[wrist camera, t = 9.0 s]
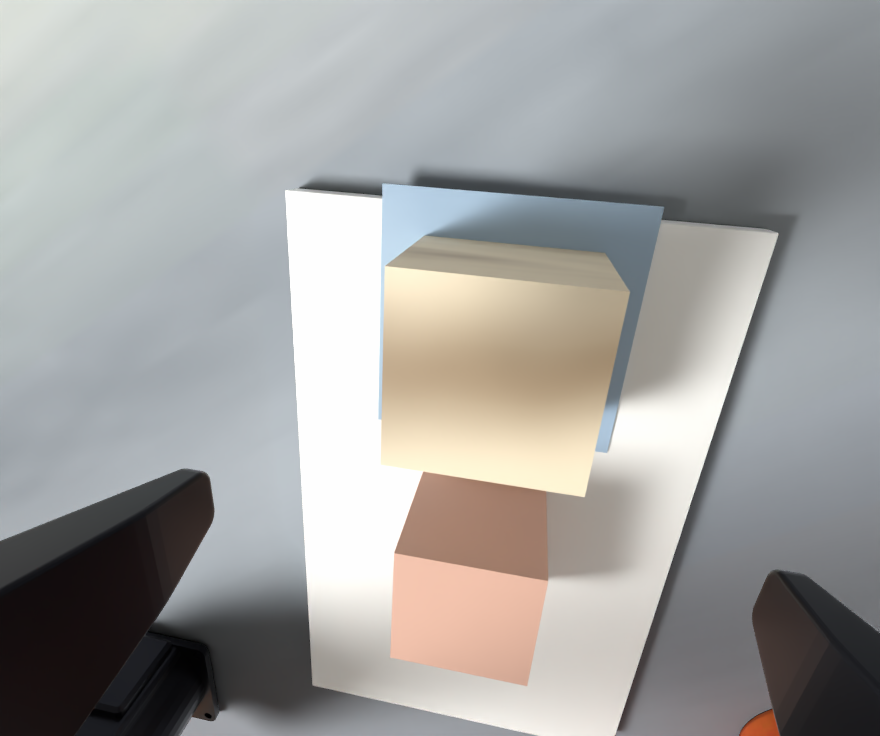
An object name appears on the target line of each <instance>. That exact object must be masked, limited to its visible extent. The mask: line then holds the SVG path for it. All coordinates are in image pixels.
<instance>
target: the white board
mask: <svg viewBox="0 0 880 736" xmlns="http://www.w3.org/2000/svg"><path fill="white" fill-rule="evenodd" d="M285 192H286V210H287V228H288V247H289V265H290V283H291V301H292V320H293V338H294V356H295V374H296V393H297V411H298V429H299V447H300V466H301V484H302V502H303V520H304V539H305V557H306V575H307V593H308V612H309V630H310V648H311V666H312V685H313V686H317V687H322V688H326V689H331V690H335V691H340V692H344V693H349V694H353V695H358V696H362V697H367V698H371V699H376V700H380V701H385V702H389V703H394V704H398V705H403V706H407V707H412V708H416V709H421V710H425V711H430V712H434V713H439V714H443V715H448V716H452V717H457V718H461V719H466V720H470V721H475V722H479V723H484V724H488V725H493V726H497V727H502V728H506V729H511V730H515V731H520V732H524V733H529V734H533V735H538V736H615V734H616V731H617V728H618V725H619V722H620V719H621V716H622V712H623V709H624V706H625V703H626V700H627V697H628V694H629V691H630V688H631V685H632V682H633V679H634V676H635V673H636V670H637V667H638V663H639V660H640V657H641V654H642V651H643V648H644V645H645V642H646V639H647V636H648V633H649V630H650V627H651V624H652V621H653V618H654V614H655V611H656V608H657V605H658V602H659V599H660V596H661V593H662V590H663V587H664V584H665V581H666V578H667V575H668V572H669V569H670V565H671V562H672V559H673V556H674V553H675V550H676V547H677V544H678V541H679V538H680V535H681V532H682V529H683V526H684V523H685V520H686V516H687V513H688V510H689V507H690V504H691V501H692V498H693V495H694V492H695V489H696V486H697V483H698V480H699V477H700V474H701V471H702V467H703V464H704V461H705V458H706V455H707V452H708V449H709V446H710V443H711V440H712V437H713V434H714V431H715V428H716V425H717V422H718V418H719V415H720V412H721V409H722V406H723V403H724V400H725V397H726V394H727V391H728V388H729V385H730V382H731V379H732V376H733V373H734V369H735V366H736V363H737V360H738V357H739V354H740V351H741V348H742V345H743V342H744V339H745V336H746V333H747V330H748V327H749V324H750V320H751V317H752V314H753V311H754V308H755V305H756V302H757V299H758V296H759V293H760V290H761V287H762V284H763V281H764V278H765V275H766V271H767V268H768V265H769V262H770V259H771V256H772V253H773V250H774V247H775V244H776V241H777V238H778V235H779V233H776V232H773V231H770V230H768V229H762V228H750V227H739V226H727V225H715V224H704V223H692V222H681V221H669V220H661V219H662V215H663V211H664V207H662V206H650V205H638V204H626V203H614V202H602V201H590V200H578V199H566V198H554V197H542V196H530V195H518V194H506V193H494V192H482V191H470V190H458V189H446V188H434V187H422V186H410V185H398V184H386V183H382V196H380V195H369V194H357V193H346V192H334V191H323V190H311V189H299V188H297V189H291V190H285ZM424 235H425V236H436V237H446V238H456V239H467V240H477V241H487V242H498V243H508V244H519V245H529V246H539V247H550V248H560V249H570V250H581V251H591V252H601V253H605V254H606V255H607V257H608V258H609V260H610V261H611V263H612V264H613V266H614V268H615V269H616V271H617V272H618V274H619V275H620V277H621V279H622V280H623V282H624V283H625V285H626V286H627V288H628V289H629V291H630V295H629V299H628V304H627V308H626V313H625V317H624V322H623V326H622V331H621V335H620V340H619V344H618V349H617V353H616V358H615V362H614V367H613V372H612V376H611V381H610V385H609V390H608V394H607V399H606V403H605V408H604V412H603V417H602V421H601V426H600V430H599V435H598V439H597V444H596V448H595V453H594V457H593V462H592V466H591V471H590V475H589V480H588V484H587V489H586V493H585V497H580V496H574V495H567V494H561V493H555V492H549V491H546V504H547V546H548V585H547V590H546V595H545V600H544V605H543V610H542V615H541V620H540V625H539V630H538V635H537V640H536V645H535V650H534V655H533V660H532V665H531V670H530V674H529V679H528V684H527V686H524V685H519V684H514V683H509V682H505V681H500V680H495V679H490V678H486V677H481V676H476V675H471V674H467V673H462V672H457V671H452V670H448V669H443V668H438V667H433V666H428V665H424V664H419V663H414V662H409V661H405V660H400V659H395V658H390V649H391V622H392V594H393V567H394V552H395V549H396V546H397V543H398V541H399V538H400V535H401V532H402V529H403V526H404V524H405V521H406V518H407V515H408V512H409V510H410V507H411V504H412V501H413V498H414V496H415V493H416V490H417V487H418V484H419V481H420V479H421V476H422V473H423V471H417V470H410V469H404V468H398V467H392V466H385V465H380V464H381V417H382V370H383V323H384V277H385V265H387V264H388V263H389V262H391V261H392V260H393V259H395V258H396V257H397V256H398V255H400V254H401V253H402V252H404V251H405V250H406V249H408V248H409V247H410V246H411V245H413V244H414V243H415V242H417V241H418V240H419V239H420V238H422V237H423V236H424Z"/></svg>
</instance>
